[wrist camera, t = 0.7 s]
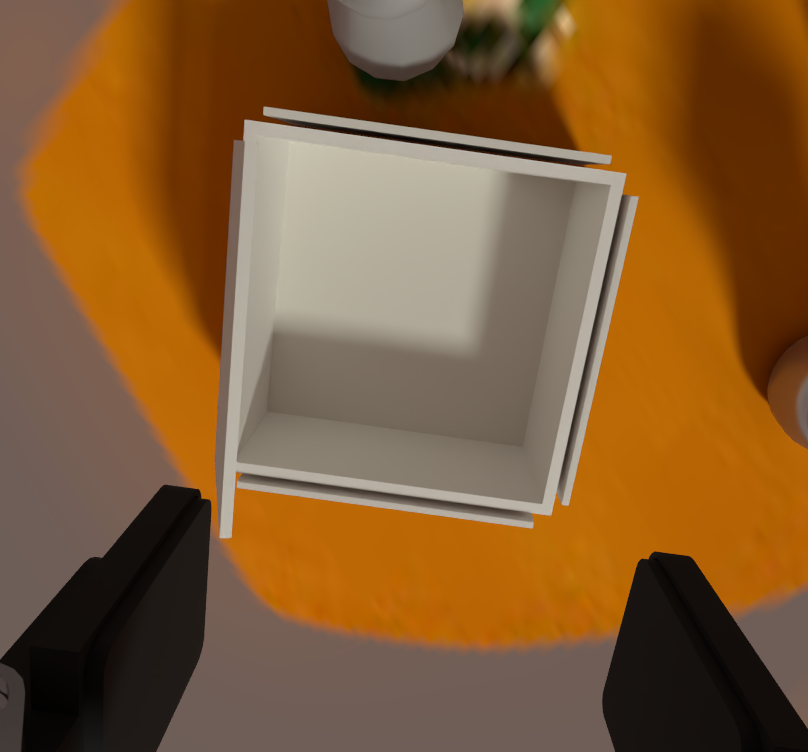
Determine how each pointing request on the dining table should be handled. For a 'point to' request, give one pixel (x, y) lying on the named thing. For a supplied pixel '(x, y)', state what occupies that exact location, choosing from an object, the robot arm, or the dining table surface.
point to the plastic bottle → (791, 391)
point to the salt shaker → (395, 34)
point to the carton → (424, 316)
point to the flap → (234, 326)
